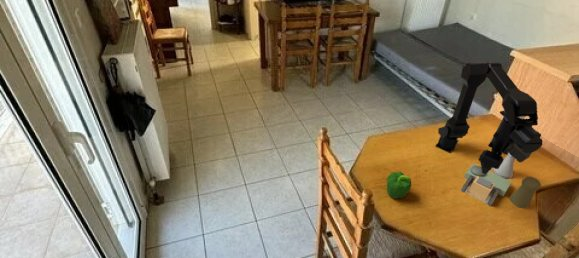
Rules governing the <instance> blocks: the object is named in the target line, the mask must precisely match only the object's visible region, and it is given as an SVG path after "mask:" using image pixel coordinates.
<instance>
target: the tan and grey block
mask: <svg viewBox="0 0 579 258" xmlns="http://www.w3.org/2000/svg"><path fill="white" fill-rule="evenodd" d="M494 185H495V184H493V183H492V182H490V181H488V180H486V179H483V178H481V177H479V176H477V177H476V179H475V180H474V181H473V183H472V185H471V187H470V189H469V191H468V192H470V193H472V194H474V195H476V196H478V197H480V198H482V199H484V200H486V198H487V197H488V195H489V194H490V192H491V190H492V188H493V186H494Z"/></svg>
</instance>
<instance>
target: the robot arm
mask: <svg viewBox="0 0 579 258" xmlns="http://www.w3.org/2000/svg"><path fill="white" fill-rule="evenodd" d="M460 75H461V76H460V78H461V81H462V87H461V90H460V92H459V97H458V100H457V102H456V105H455V108H454V112H453V115H452V116H451V117H450V118H448V119H447V121H446V122H445V125H444V126H442V127H438V130H437V133H438V135H439V139H438V142H437V143H436V144H435V147H436V148H438V149H441V150H442V151H444V152H446V153H452V152H453V151H454V150H455V149H456V148H457V145H458V143H459V140H458V139H463V137H466V135H468V134H469V130H470V125H469V124H468V120H467V118H468V115H469V112H470V111H471V106H472V105H473V101H474V99H475V96H476V93H477V89H478V87H479V86H481V85H482V84H483V83H484V82H485V81H486V80H487V78H488V80H489V82H490V83H491V84H492V86H493V87H494V88H495V90H496V92H498V95H499V96H500V97H501V99H502V102H501V106H502V108H503V110H500V111H499V114H500V115H501V116H502V119H501V121H500V123H499V125H498V127H497V129H496V131H495V132H494V133H493V135H492V136H493V137H492V139H491V141H490V142H489V143H488V147H490V148H491V150H489V149H485V150H483V151H482V152H481V154H480V155H479V157H478V162H480V167H481V168H482V173H483V174H487V173H488V172H491V170H493V168H495V169H499V167H500V165H501V164H502V162H503V160H504V159H505V158H504V157H503V156H502V155H505V156H507V155H508V153H509V154H510V155H511V156H513V157H514V158H515V160H516V161H517V162H518V163H523V162H525V160H527V159H528V158H530V157H531V155H532V154H533V153H535V152H536V151H538V150H539V149H541V147H542V146H543V144H544V143H543V142H544V141H543V139H542V138H541V137H542V134H541V133H540V132H539V131H537V130H536V129H535V128H534V127H533V126H538V120H539V117H538V103H537V101H536V99H534V98H533V97H532V95H529V94H528V93H526V92H524V91H522V90H520V89H519V88H518V86H517V85H516V84H515V83H514V81H513V79H511V77H510V76H509V75H508V74H507V72H506V71H505V69H504V68H503V65H502V63H500V62H497V61H494V62H492V61H490V62H482V61H481V62H467V63H466V64H464V65H463V66H462V68H461V74H460ZM525 116H526V117H528V118H526V117H525ZM520 117H525V118H524V119H521V118H520Z"/></svg>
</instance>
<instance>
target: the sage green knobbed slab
mask: <svg viewBox="0 0 579 258" xmlns="http://www.w3.org/2000/svg"><path fill="white" fill-rule="evenodd" d="M470 175H472V176H474V177H477V176H479V177H481V178H483V179H486V180H488V181H490V182H492V183H493V184H495V185H494V186H495V187H497V188H499V189H500V191H499V193H498V194H497V195H500V196H501V197H504V195H505V194H506V192H507V190H508V189H509V187H510V185H511V183H512V181H511V180H508V178H503V177H500V176H498V175H496V174H495V173H493V172H492V171H489V172H488V173H487V174H483V173H482V168H481V165H476V164H474V163H472V164H471V165H470V167H469V168H468V170H466V172H465V174H464V176H463V178H465V179H466V180H468V178H469V177H470Z"/></svg>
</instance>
